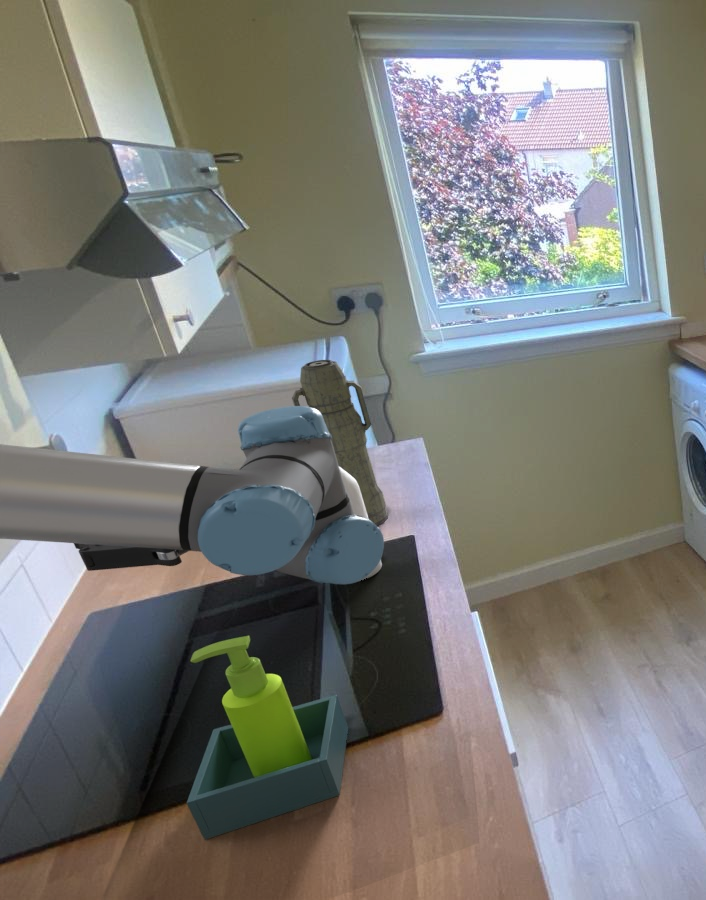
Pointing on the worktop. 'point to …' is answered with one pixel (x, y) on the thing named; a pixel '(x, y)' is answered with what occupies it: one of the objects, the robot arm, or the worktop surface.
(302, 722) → the tub
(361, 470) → the olive amphora vase
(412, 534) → the worktop surface
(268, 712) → the soap dispenser
